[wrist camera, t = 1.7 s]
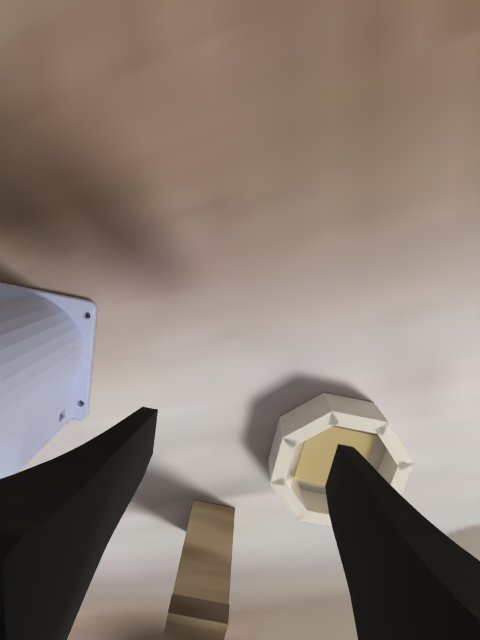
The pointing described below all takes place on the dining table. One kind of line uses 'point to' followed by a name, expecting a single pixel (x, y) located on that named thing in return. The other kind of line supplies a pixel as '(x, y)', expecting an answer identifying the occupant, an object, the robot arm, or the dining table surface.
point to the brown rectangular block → (203, 576)
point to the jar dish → (330, 451)
